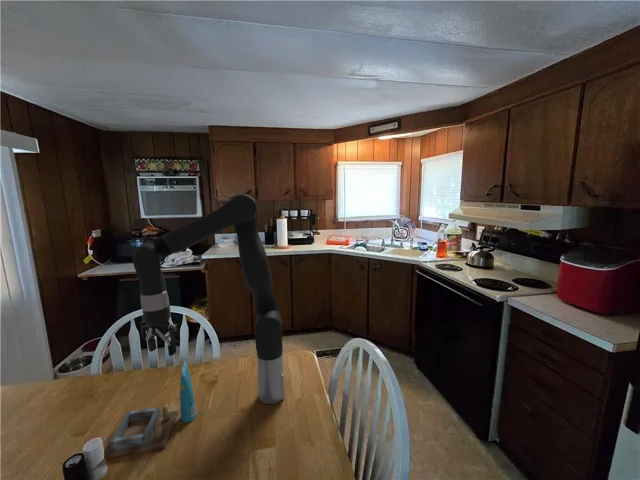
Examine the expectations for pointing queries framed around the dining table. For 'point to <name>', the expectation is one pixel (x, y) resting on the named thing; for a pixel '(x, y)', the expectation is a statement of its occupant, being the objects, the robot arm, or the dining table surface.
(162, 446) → the socket board
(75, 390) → the dining table surface
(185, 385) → the tube
